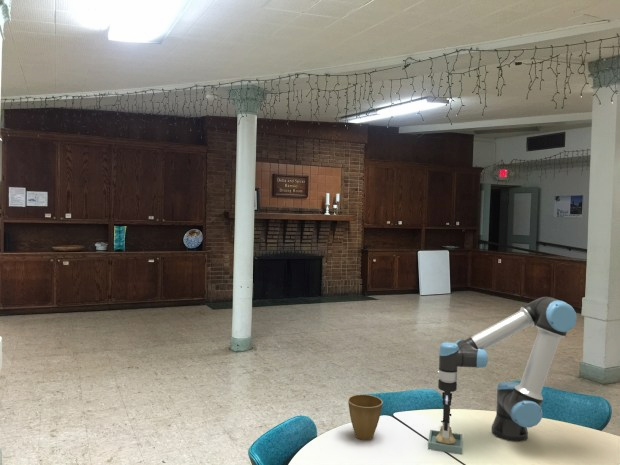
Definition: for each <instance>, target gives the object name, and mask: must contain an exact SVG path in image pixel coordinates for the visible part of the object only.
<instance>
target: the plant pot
mask: <svg viewBox="0 0 620 465" xmlns="http://www.w3.org/2000/svg"><path fill="white" fill-rule="evenodd" d="M347 402H348V403H347V404H348V411H349V417H350V421H351V426H352V429H353V432H354V435H355V437H356V439H359V440H361V441H369V440H372V439H373V437H374V435H375V433H376V430H377V427H378V425H379V420H380V418H381V414H382V407H383V403H384V402H383V400H382V399H381V398H380V397H378V396H375V395H371V394H364V393H363V394H355V395H351V396H348V399H347Z"/></svg>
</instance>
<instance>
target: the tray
mask: <svg viewBox="0 0 620 465" xmlns="http://www.w3.org/2000/svg"><path fill="white" fill-rule="evenodd" d="M439 432H440V430H435V429H430V430H429V435H428V440H427V450H430V449H431V451H437V452H444V453H448V454H449V453H451V454H458V455H463V434H462V433H456V432H452V435H453V437H454V438H455V440H456V442H455V443H453V444H444V443H441V442H438V441H437V440H436V436H437V435H438V434H439Z"/></svg>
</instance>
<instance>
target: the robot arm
mask: <svg viewBox="0 0 620 465" xmlns="http://www.w3.org/2000/svg"><path fill="white" fill-rule="evenodd" d="M577 319H578V317H577V313H576V310H575V308H573V306H572V305H570V304H568V303H567V302H565V301H563V300H559V299H556V298H554V297H551V296H542V297H539V298H537V299H534V300H533V301H530V302H529V303H526V304H525V305H523V306H521V307H520V310H518V311H517V312H515V313H512V314H511V315H509V316H507V317H506V318H503V319H502V320H500V321H498V322H496V323H494V324H492V325H491V326H489V327H486V328H484V329H483V330H481V331H479V332H478V333H476V334H474V335H472V336H470V337H468V338H466V339H458V340H457V341H455V342H450V341H449V342H448V341H446V342H442V343H441V344H440V345H439V352H438V370H437V372H436V373H437V374H438V385H437V386H438V390H440V391H442V394H441V396H442V405H443V407H442V409H443V411H442V420H441V421H440V422H441V423H442V426H443V427H442V437H443V438H449V426H450V422H451V419H450V418H451V417H452V413H450V415H449V411H450V412H451V406H452V399H453V392H456V391H457V387H458V382H457V381H458V368H474V369H475V368H477V369H479V368H485V367H487V366H488V360H489V359H488V358H489V357H488V353H487V351H486V349H489V348H490V347H493V346H494V345H496V344H499V343H500V342H502V341H504V340H505V339H508V338H509V337H511V336H513V335H515V334H517V333H519V332H521V331H523V330H524V329H526V328H528V327H533V328H534V327H536V329H537V334H536V338H535V340H534V342H533V346H532V349H531V350H530V354H529V357H528V360H527V362H526V366H525V369H524V371H523V374H522V377H521V379H520V383H519V382H513V381H501V382H498V383H497V388H496V414H495V417H494V420H493V422H492V425H491V433H492V435H494V436H495V437H497V438H498V439H501V440H505V441H508V442H509V441H510V442H524V441H527V439H528V438H529V431H528V428H533V427H535V426H537V425H539V423H540V422H541V421H542V419H543V410H542V407H541V406H542V404H543V402H544V401H543V400H544V398H543V395H542V391H543V388H544V385H545V382H546V380H547V377H548V374H549V371H550V368H551V366H552V363H553V360H554V357H555V354H556V352H557V349H558V346H559V343H560V340H561V339H564V338H565V337H566V336H567V333H568V332H569V331H571V330H572V329H574V327H575V326H576V324H577ZM450 427H451V426H450Z"/></svg>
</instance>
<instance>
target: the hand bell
mask: <svg viewBox="0 0 620 465" xmlns="http://www.w3.org/2000/svg"><path fill="white" fill-rule="evenodd" d="M450 414H451V410H450V411H449V415H450ZM442 427H443V425H441V426H440V429H439V431H440V432H439V434H438V435H437V436H436V440H437V441H438V442H441V443H444V444H453V443H455V442H456V440H455V438H454V437H453V435H452V433H453V430H452V427H451V426H449V438H443V437H442Z"/></svg>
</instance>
